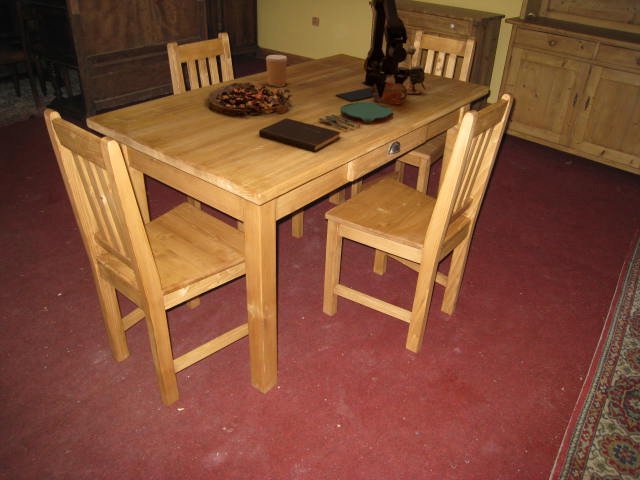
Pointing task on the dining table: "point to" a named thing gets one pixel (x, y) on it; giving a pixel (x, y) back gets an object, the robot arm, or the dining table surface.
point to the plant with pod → (415, 74)
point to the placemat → (356, 95)
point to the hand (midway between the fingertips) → (388, 95)
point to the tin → (391, 93)
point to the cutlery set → (360, 113)
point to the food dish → (248, 100)
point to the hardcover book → (300, 134)
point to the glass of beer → (276, 69)
